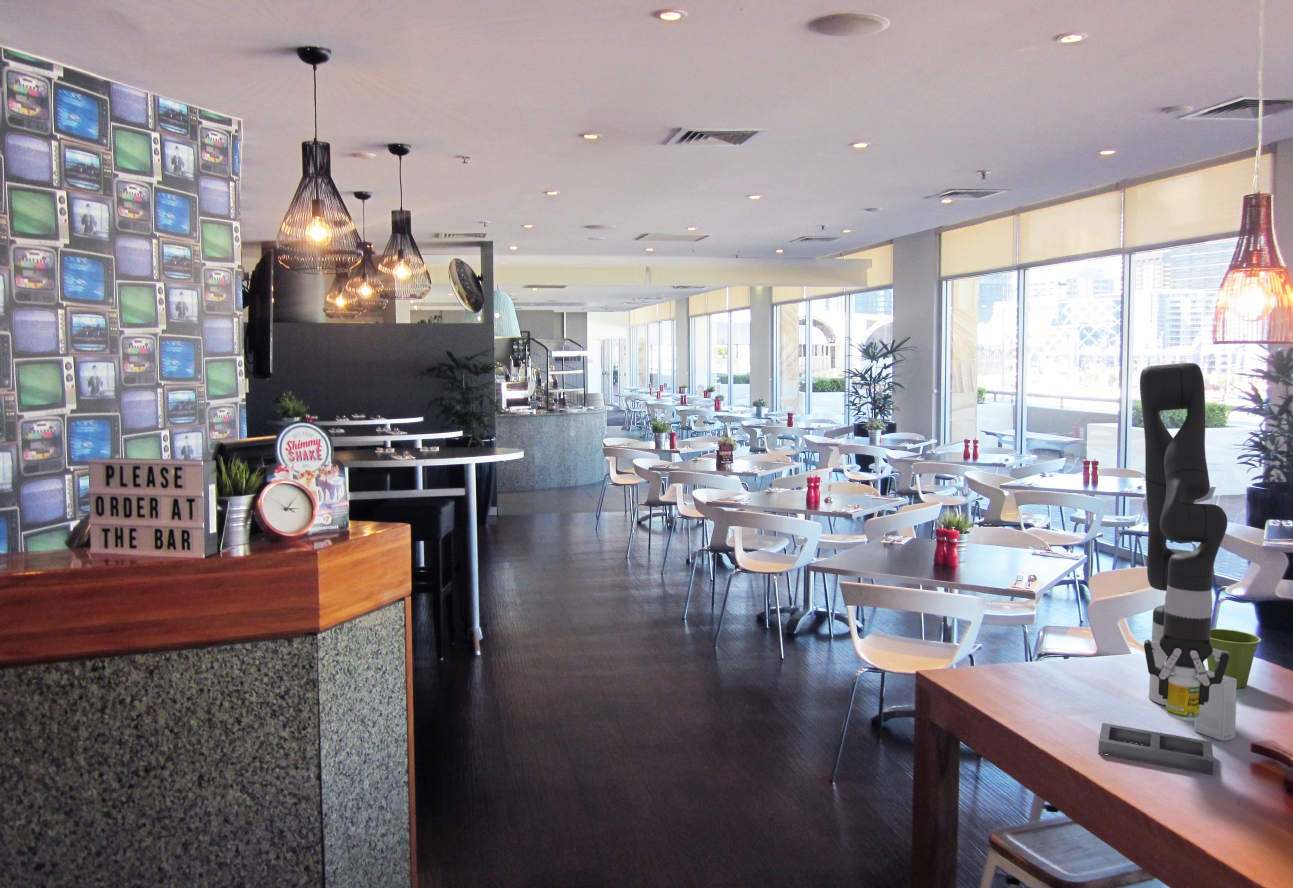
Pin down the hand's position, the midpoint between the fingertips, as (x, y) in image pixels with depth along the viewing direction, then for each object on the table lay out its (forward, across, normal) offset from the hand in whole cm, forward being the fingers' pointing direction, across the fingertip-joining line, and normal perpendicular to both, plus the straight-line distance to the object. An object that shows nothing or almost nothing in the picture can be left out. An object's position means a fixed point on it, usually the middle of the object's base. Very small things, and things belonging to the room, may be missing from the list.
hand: (1182, 700), depth 173 cm
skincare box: (+11, -6, -16) cm, 21 cm away
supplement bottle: (+3, 0, 0) cm, 3 cm away
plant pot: (+11, -10, -52) cm, 54 cm away
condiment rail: (+11, +4, 0) cm, 12 cm away
